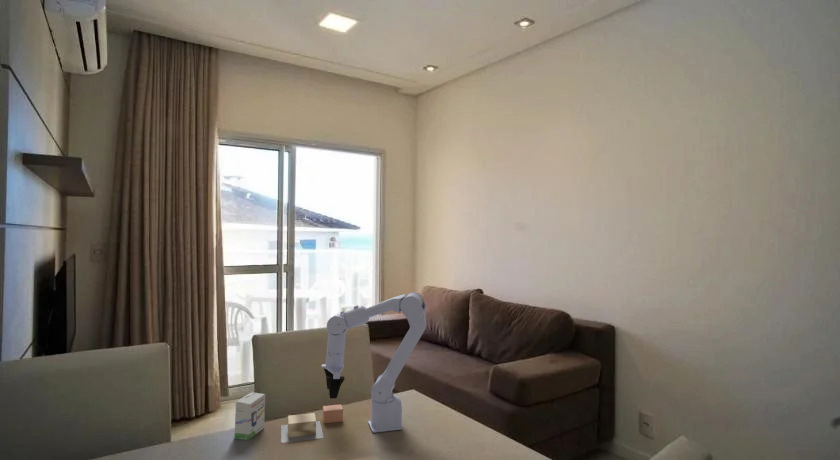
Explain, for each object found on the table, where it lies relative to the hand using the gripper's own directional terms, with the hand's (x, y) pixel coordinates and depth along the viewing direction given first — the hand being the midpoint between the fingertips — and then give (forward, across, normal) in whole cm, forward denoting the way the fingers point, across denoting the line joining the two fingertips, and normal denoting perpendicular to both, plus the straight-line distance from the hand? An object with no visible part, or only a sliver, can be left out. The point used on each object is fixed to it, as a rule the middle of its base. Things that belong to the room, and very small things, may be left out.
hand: (331, 393), depth 144 cm
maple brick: (+9, +6, -9) cm, 14 cm away
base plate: (+10, +6, -9) cm, 15 cm away
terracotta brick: (+10, 0, +1) cm, 10 cm away
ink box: (+11, +3, -24) cm, 27 cm away
